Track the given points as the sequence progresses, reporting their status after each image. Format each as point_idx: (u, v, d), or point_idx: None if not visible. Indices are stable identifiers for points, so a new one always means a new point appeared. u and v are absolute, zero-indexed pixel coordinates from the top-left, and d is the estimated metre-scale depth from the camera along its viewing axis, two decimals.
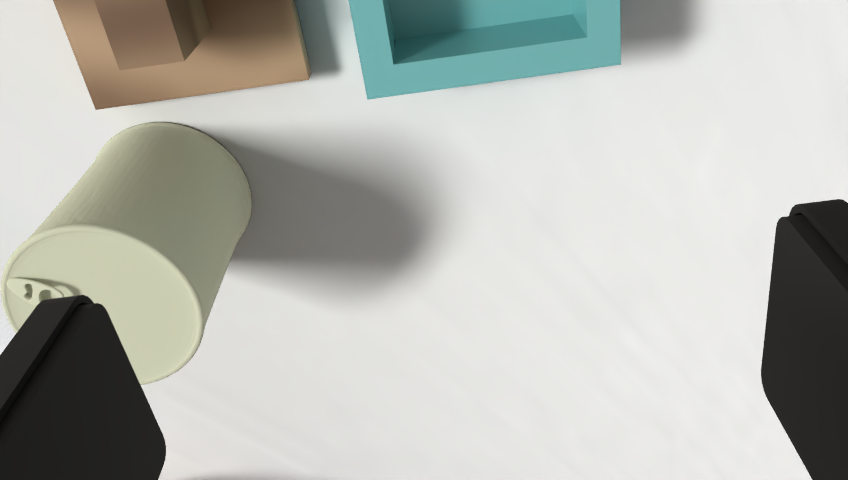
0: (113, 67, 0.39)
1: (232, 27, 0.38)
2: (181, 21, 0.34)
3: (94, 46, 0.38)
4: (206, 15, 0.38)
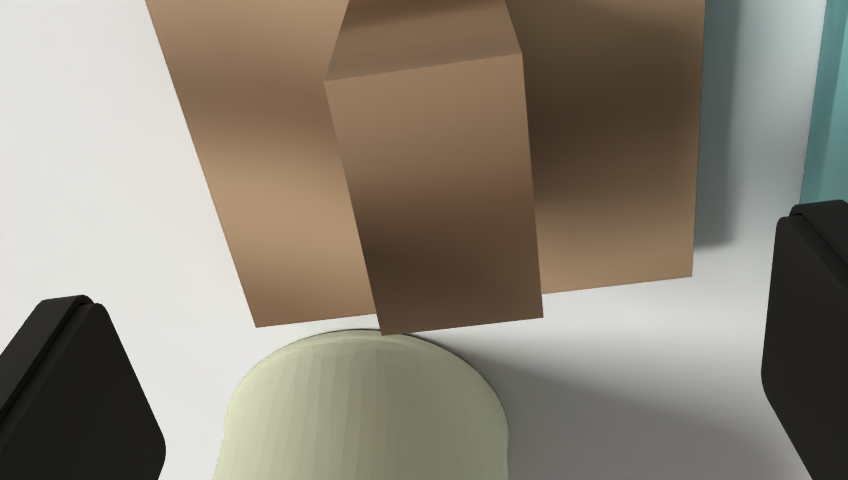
0: (301, 256, 0.19)
1: (561, 183, 0.18)
2: None
3: (266, 219, 0.19)
4: None
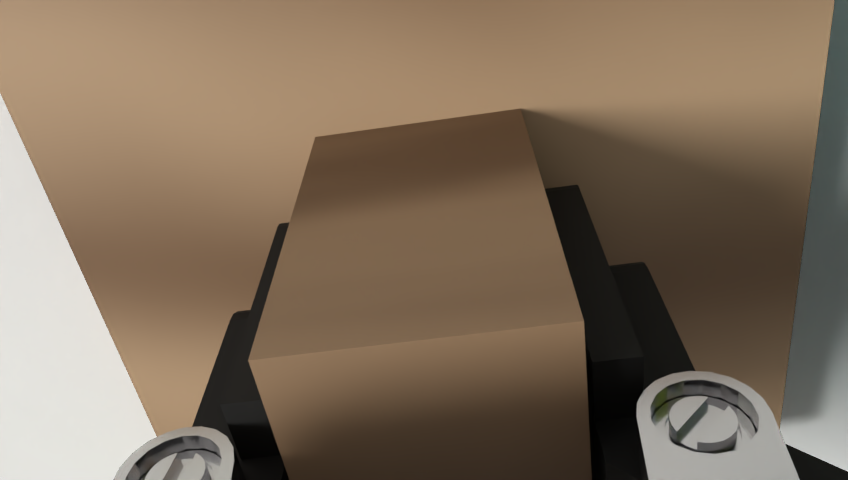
0: None
1: None
2: None
3: None
4: None
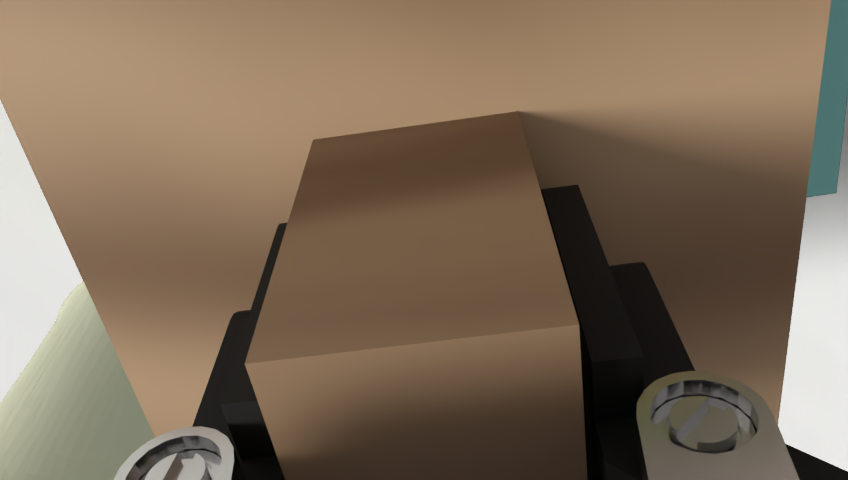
0: None
1: None
2: None
3: None
4: None
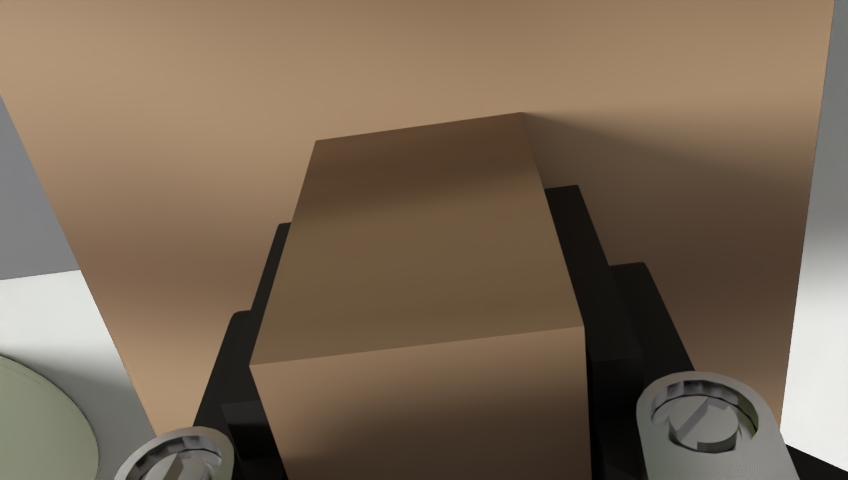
0: None
1: None
2: None
3: None
4: None
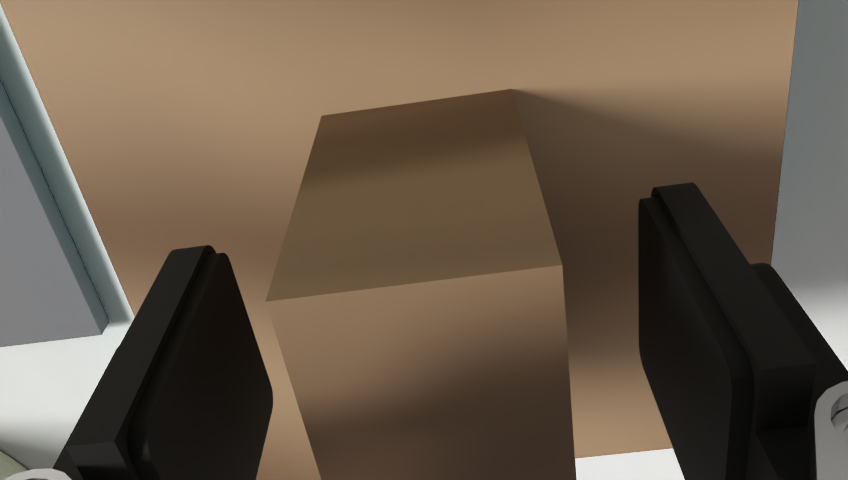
0: None
1: (592, 336, 0.14)
2: None
3: None
4: None
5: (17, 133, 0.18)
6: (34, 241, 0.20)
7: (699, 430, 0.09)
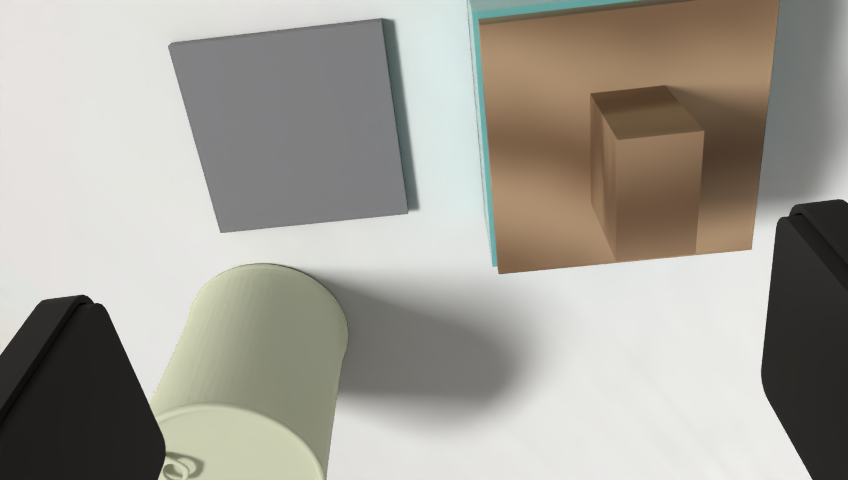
0: (534, 231, 0.34)
1: None
2: None
3: (519, 209, 0.34)
4: None
5: (393, 104, 0.37)
6: (388, 160, 0.38)
7: None
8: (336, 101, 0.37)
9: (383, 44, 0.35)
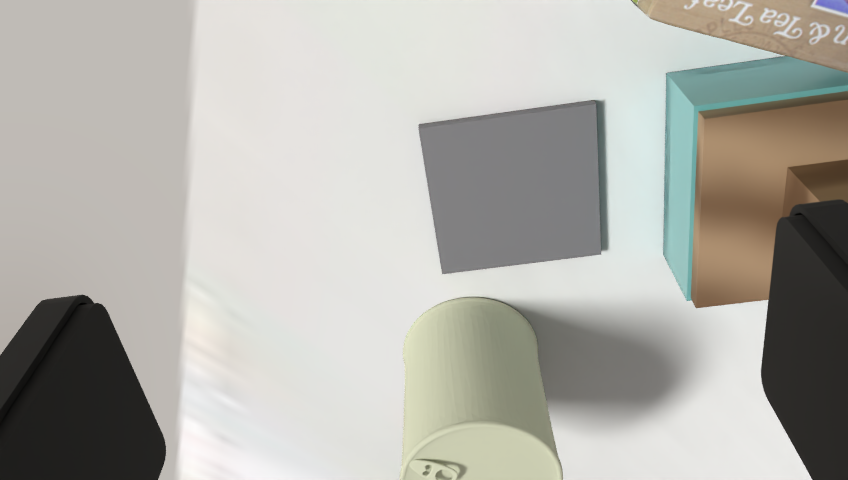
0: (729, 274, 0.42)
1: None
2: None
3: (719, 257, 0.41)
4: None
5: (597, 167, 0.45)
6: (589, 212, 0.46)
7: None
8: (551, 167, 0.44)
9: (595, 121, 0.43)
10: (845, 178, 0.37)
